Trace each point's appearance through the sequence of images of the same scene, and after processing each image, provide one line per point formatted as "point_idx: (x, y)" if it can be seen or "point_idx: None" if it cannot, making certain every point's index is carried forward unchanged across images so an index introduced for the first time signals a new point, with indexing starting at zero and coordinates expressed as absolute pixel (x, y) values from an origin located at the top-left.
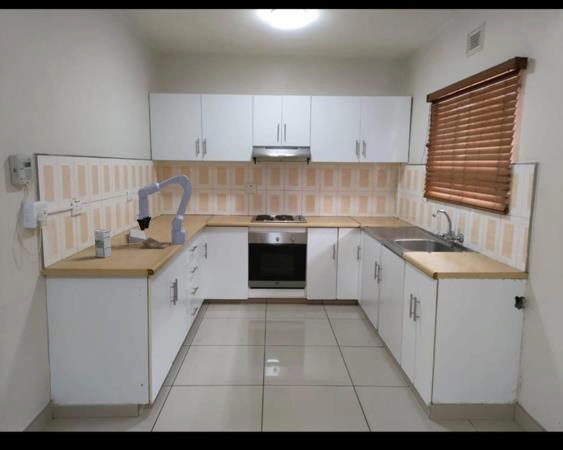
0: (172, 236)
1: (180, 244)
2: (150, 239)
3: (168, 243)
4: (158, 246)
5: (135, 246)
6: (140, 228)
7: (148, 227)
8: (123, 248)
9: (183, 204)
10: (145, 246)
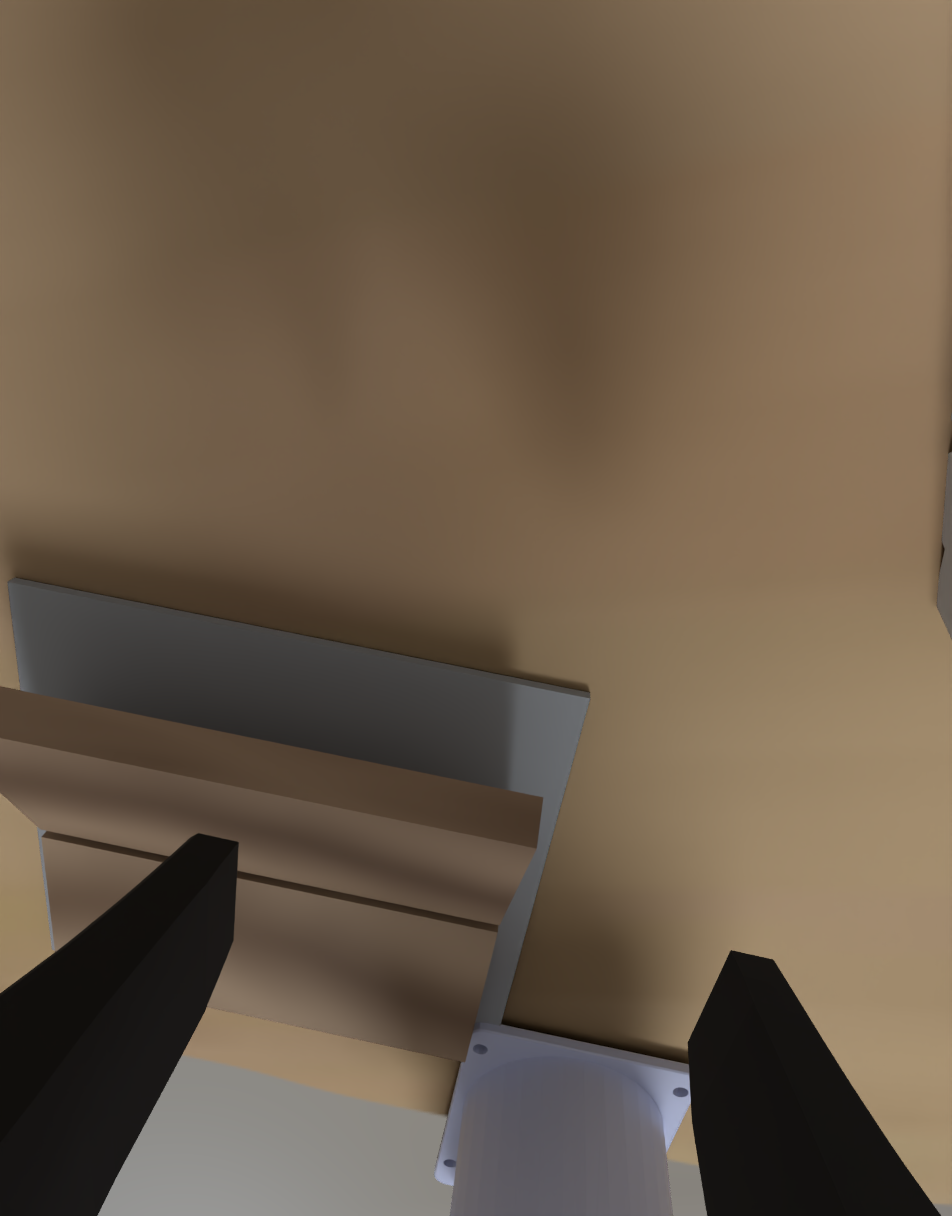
0: (489, 1213)
1: (443, 1134)
2: (373, 839)
3: (369, 1035)
4: (83, 900)
5: (360, 430)
6: (132, 894)
7: (698, 1100)
8: (91, 141)
9: None
10: (283, 660)
